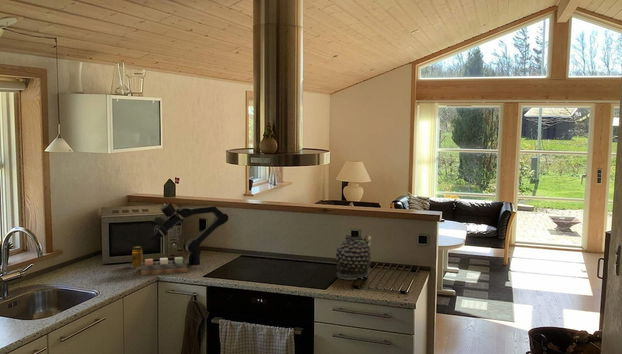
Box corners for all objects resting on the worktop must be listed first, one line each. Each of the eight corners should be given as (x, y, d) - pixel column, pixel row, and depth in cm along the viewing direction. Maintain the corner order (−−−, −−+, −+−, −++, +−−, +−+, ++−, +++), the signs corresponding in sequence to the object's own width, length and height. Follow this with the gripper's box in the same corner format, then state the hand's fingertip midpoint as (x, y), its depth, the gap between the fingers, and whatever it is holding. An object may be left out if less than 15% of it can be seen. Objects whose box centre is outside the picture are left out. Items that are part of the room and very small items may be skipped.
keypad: (185, 266, 354) (185, 258, 354) (187, 272, 341) (187, 264, 340) (140, 269, 346) (140, 261, 346) (141, 275, 333) (141, 267, 332)
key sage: (182, 261, 348) (182, 256, 348) (182, 263, 344) (182, 258, 344) (174, 262, 347) (174, 257, 347) (175, 264, 343) (175, 259, 343)
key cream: (167, 262, 346) (167, 257, 345) (168, 264, 342) (168, 259, 341) (159, 263, 344) (159, 258, 344) (160, 265, 340) (160, 260, 340)
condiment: (129, 267, 350) (128, 247, 348) (138, 264, 358) (137, 244, 356) (139, 268, 347) (139, 248, 346) (148, 265, 355) (147, 245, 354)
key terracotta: (152, 263, 343) (152, 258, 343) (153, 265, 339) (153, 260, 339) (144, 264, 342) (144, 259, 342) (145, 266, 338) (145, 260, 337)
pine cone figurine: (364, 272, 344) (365, 231, 341) (374, 279, 330) (375, 236, 327) (331, 275, 338) (331, 232, 335) (340, 282, 323) (341, 238, 321)
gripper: (160, 212, 358) (139, 228, 354) (164, 212, 341) (142, 229, 336) (171, 226, 360) (151, 242, 356) (176, 227, 343) (155, 244, 338)
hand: (149, 239), depth 346 cm, fingers open, 9 cm apart
